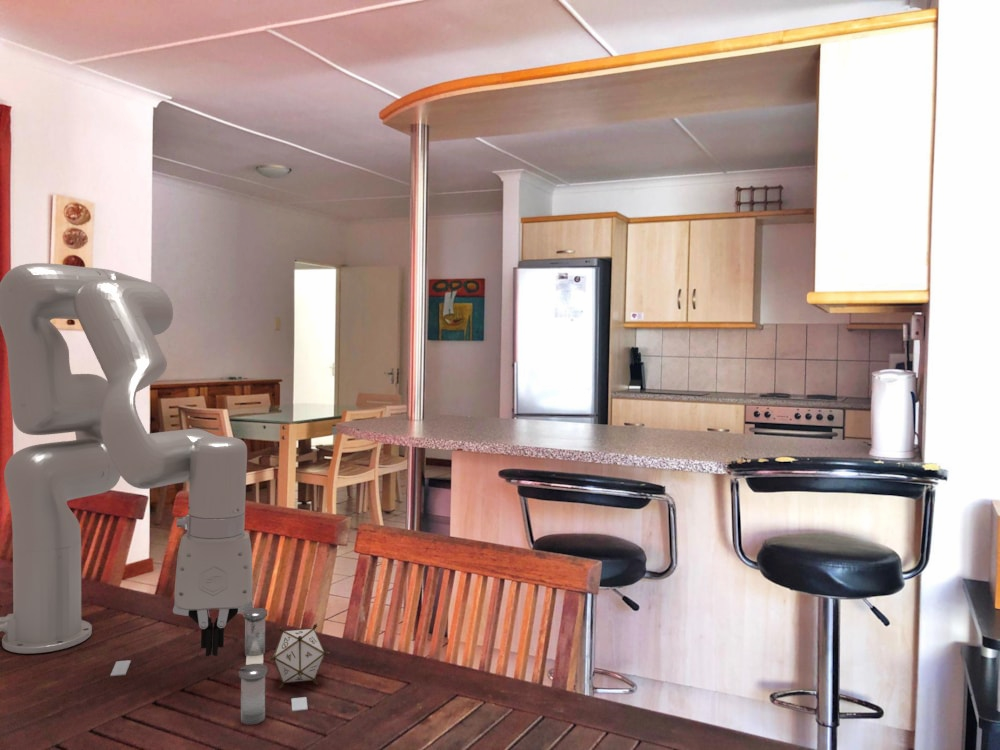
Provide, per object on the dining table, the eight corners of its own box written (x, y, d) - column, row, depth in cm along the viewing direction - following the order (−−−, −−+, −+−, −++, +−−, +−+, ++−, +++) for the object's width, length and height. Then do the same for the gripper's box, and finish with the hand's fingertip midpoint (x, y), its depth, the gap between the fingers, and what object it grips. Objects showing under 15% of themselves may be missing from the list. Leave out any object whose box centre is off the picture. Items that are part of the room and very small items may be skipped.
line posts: (237, 727, 103) (238, 676, 103) (243, 649, 128) (243, 608, 127) (267, 723, 104) (267, 673, 104) (266, 647, 129) (267, 607, 128)
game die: (304, 712, 115) (308, 675, 109) (254, 685, 117) (254, 647, 111) (338, 662, 122) (343, 625, 116) (290, 637, 124) (292, 599, 117)
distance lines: (85, 732, 101) (85, 731, 101) (116, 662, 122) (116, 661, 122) (307, 709, 108) (307, 708, 108) (300, 647, 129) (300, 646, 129)
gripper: (155, 533, 108) (151, 667, 109) (272, 531, 112) (266, 660, 113) (162, 519, 115) (158, 644, 116) (271, 517, 119) (266, 638, 120)
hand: (212, 652), depth 115 cm, fingers closed
